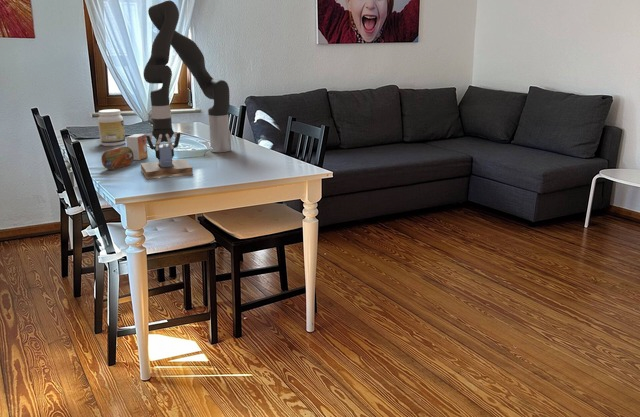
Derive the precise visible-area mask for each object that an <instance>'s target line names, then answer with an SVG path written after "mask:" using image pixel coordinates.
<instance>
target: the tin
mask: <svg viewBox="0 0 640 417" xmlns="http://www.w3.org/2000/svg"><path fill="white" fill-rule="evenodd" d="M133 157H134V156H133V152H132V150H131V149H130V148H129V147H127V146H119V147H115V148H112V149H106V150H105V151H104V152H103V153H102V155H101V163H102V166H103V168H104V169H107V170H111V171H114V169H115V170H118V169H121V168H122V169H123V168H126V167H130V165H131V164H132V163H133V161H134V160H133Z"/></svg>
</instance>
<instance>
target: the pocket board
mask: <svg viewBox="0 0 640 417" xmlns="http://www.w3.org/2000/svg"><path fill="white" fill-rule="evenodd" d="M172 164H173V166H171V167H161V166H160V165H159V161H151V162H141V163H140V170H141V172H142V174H143V173H144V174H143V175H144V177H145V176H146V177H145V178H147V179H146V180H151V179H150V178H157V179H160V178H159V177H166V178H170V177H169V176H175V177H182V176H181V175H185V176H192V175H193V174H194V172H193V167H192V165H191V164H190V163H188V162H187V161H186V159H184V158H183V159H182V158H181V159H174V160H173V159H172Z"/></svg>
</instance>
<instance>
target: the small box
mask: <svg viewBox="0 0 640 417" xmlns="http://www.w3.org/2000/svg"><path fill="white" fill-rule="evenodd" d="M146 135H147V134H146V133H145V134H144V133H133V134H132V135H129V136H125V140H126V141H125V142H126V147H129V148H130V149H131V150H132V152H133V156H134V157H133V161H141V160H143V159H145V158H148V147H147V145H148V144H147V139H146Z"/></svg>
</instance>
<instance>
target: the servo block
mask: <svg viewBox="0 0 640 417" xmlns="http://www.w3.org/2000/svg"><path fill="white" fill-rule="evenodd" d="M159 154H160V159H159V160H158V162H159V165H160V166H161V167H171V166H173V164H172V160H173V158H172V152H171V146H169V144H168V143H167V144H166V143H163V144H160V146H159Z"/></svg>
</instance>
